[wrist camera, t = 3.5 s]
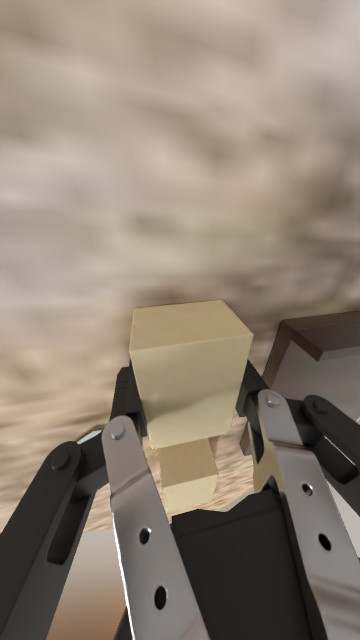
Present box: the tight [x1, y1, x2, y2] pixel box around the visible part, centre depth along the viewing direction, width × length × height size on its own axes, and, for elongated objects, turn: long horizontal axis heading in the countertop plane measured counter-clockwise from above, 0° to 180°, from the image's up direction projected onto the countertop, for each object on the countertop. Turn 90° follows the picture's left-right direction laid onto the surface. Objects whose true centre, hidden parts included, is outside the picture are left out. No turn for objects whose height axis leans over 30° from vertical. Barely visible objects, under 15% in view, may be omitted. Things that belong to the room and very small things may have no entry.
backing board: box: [240, 311, 360, 456], centre depth 16 cm, size 18×14×3 cm
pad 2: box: [159, 438, 218, 513], centre depth 18 cm, size 8×5×4 cm, turn 1°
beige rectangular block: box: [129, 300, 254, 449], centre depth 10 cm, size 8×5×4 cm, turn 1°
